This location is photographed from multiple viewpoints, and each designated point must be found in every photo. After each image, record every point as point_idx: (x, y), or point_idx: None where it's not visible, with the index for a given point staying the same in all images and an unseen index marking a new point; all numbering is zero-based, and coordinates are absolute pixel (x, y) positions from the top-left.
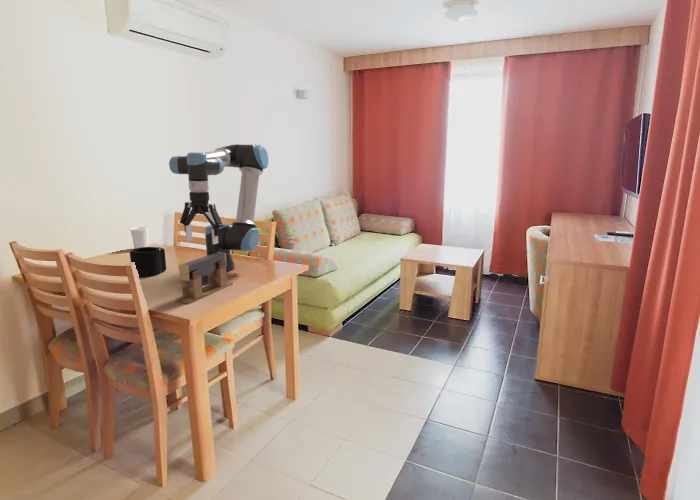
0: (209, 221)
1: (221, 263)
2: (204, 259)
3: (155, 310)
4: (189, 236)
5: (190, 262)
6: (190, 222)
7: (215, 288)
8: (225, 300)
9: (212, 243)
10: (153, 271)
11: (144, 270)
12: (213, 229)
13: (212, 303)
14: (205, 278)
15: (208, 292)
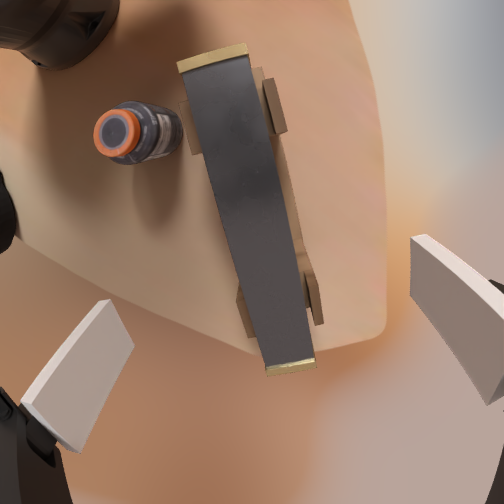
0: (496, 495)
1: (283, 116)
2: (279, 244)
3: None
4: (109, 352)
5: (271, 327)
6: (19, 435)
7: (274, 158)
8: (380, 206)
9: (413, 299)
10: (8, 218)
11: (4, 242)
12: (502, 384)
13: (366, 248)
14: (174, 139)
15: (291, 204)
